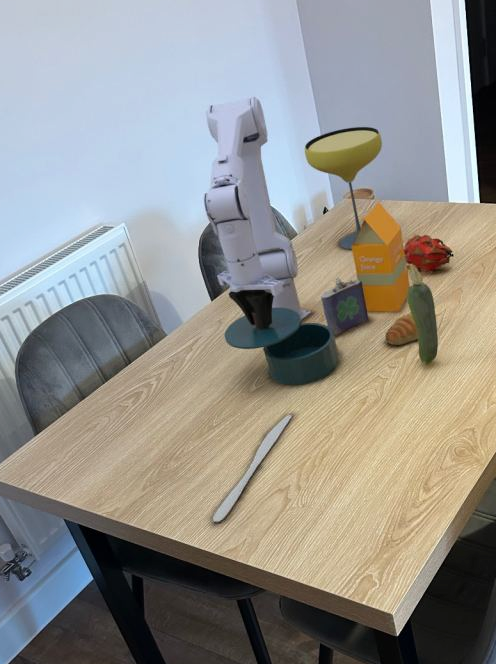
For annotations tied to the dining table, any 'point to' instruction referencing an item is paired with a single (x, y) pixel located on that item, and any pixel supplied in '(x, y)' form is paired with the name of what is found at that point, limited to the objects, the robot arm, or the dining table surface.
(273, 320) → the lid
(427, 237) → the dragon fruit
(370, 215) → the orange juice
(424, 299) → the vegetable
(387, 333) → the pastry
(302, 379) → the pan
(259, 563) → the dining table surface
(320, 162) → the cocktail glass
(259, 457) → the butter knife
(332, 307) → the flask
